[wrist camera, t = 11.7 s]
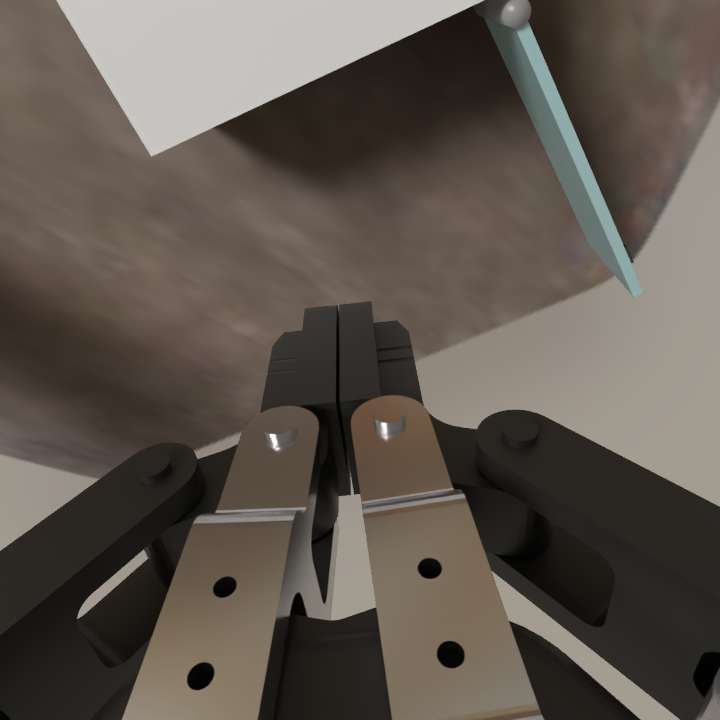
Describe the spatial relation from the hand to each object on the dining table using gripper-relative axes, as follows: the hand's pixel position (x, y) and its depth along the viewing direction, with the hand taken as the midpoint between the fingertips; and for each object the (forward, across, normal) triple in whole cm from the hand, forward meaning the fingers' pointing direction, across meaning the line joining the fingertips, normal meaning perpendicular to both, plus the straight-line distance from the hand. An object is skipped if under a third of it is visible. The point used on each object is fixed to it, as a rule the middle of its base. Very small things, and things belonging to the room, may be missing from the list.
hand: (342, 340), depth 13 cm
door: (+21, -11, +1) cm, 23 cm away
